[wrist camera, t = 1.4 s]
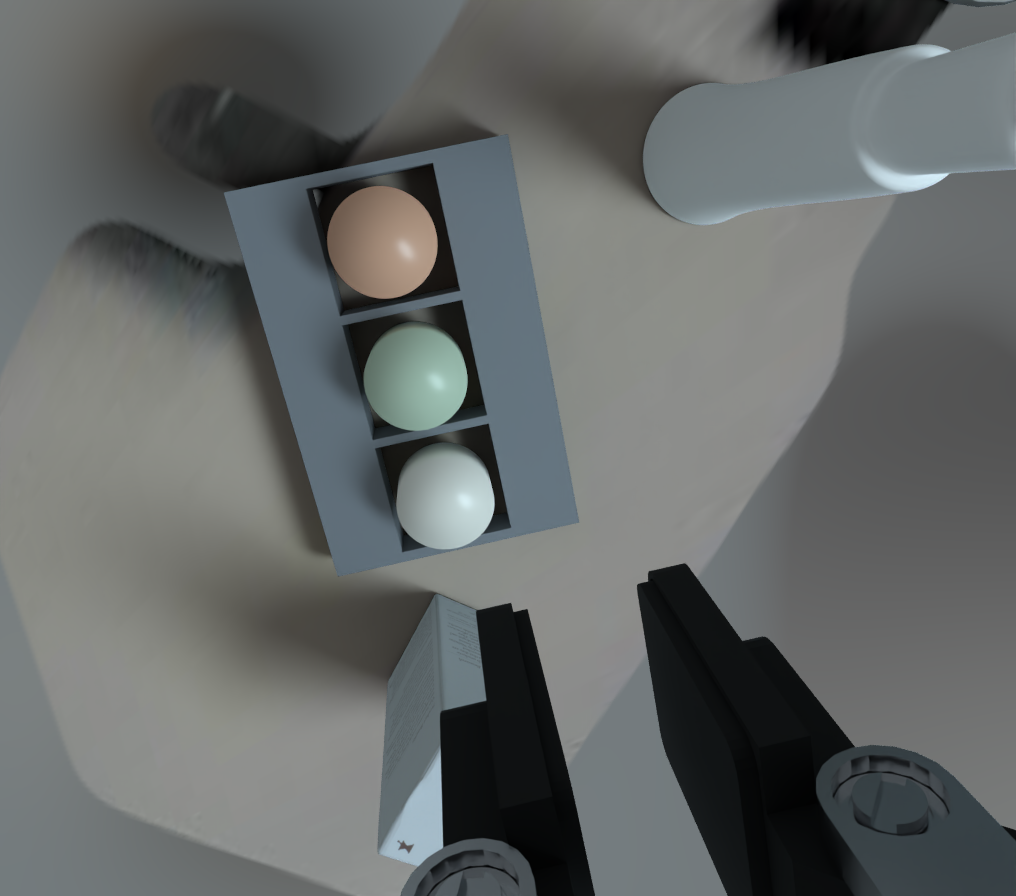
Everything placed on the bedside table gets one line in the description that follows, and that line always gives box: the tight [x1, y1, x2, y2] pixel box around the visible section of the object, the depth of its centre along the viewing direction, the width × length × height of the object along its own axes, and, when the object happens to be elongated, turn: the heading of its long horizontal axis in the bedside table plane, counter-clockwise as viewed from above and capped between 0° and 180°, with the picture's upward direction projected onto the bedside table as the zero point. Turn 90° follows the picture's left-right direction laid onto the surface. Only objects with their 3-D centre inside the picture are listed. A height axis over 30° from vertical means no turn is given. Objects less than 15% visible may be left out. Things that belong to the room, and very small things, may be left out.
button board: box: [224, 134, 579, 576], centre depth 36 cm, size 12×18×2 cm, turn 11°
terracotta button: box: [327, 186, 438, 299], centre depth 33 cm, size 4×4×2 cm
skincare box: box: [378, 594, 486, 866], centre depth 36 cm, size 6×4×12 cm
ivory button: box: [396, 442, 494, 549], centre depth 36 cm, size 4×4×2 cm
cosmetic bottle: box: [643, 33, 1016, 225], centre depth 25 cm, size 6×6×22 cm
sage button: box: [364, 321, 467, 431], centre depth 34 cm, size 4×4×2 cm
